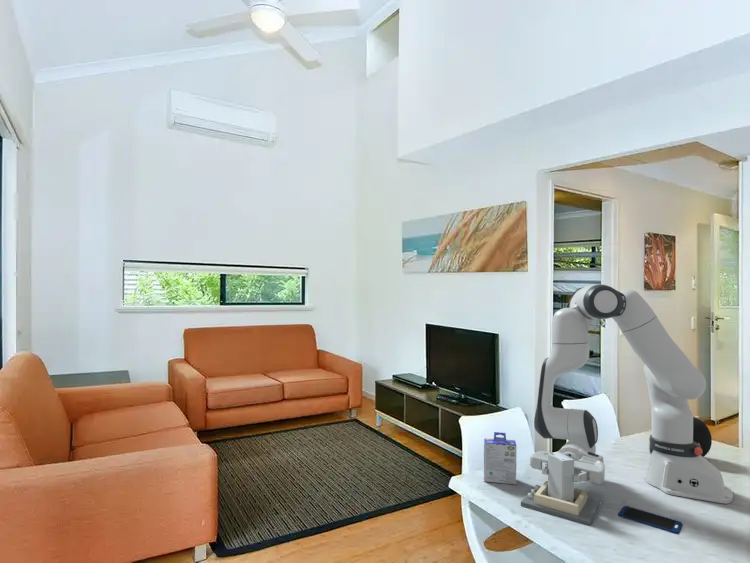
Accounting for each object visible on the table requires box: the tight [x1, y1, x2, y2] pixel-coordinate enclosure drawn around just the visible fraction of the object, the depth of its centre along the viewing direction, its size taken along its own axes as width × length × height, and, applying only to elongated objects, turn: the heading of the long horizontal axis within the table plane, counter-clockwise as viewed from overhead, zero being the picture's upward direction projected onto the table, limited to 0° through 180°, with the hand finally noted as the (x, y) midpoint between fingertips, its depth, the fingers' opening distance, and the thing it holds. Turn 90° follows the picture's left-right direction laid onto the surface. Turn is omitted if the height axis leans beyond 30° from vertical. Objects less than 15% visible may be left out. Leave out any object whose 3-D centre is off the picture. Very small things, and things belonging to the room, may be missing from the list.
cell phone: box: [617, 505, 684, 535], centre depth 124 cm, size 7×14×1 cm, turn 48°
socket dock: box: [520, 480, 602, 526], centre depth 132 cm, size 18×14×4 cm
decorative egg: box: [693, 416, 713, 458], centre depth 169 cm, size 12×12×15 cm
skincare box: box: [547, 451, 575, 503], centre depth 132 cm, size 6×4×12 cm
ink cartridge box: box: [483, 431, 517, 485], centre depth 148 cm, size 10×6×14 cm, turn 78°
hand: (560, 475), depth 131 cm, fingers closed on skincare box, 7 cm apart
